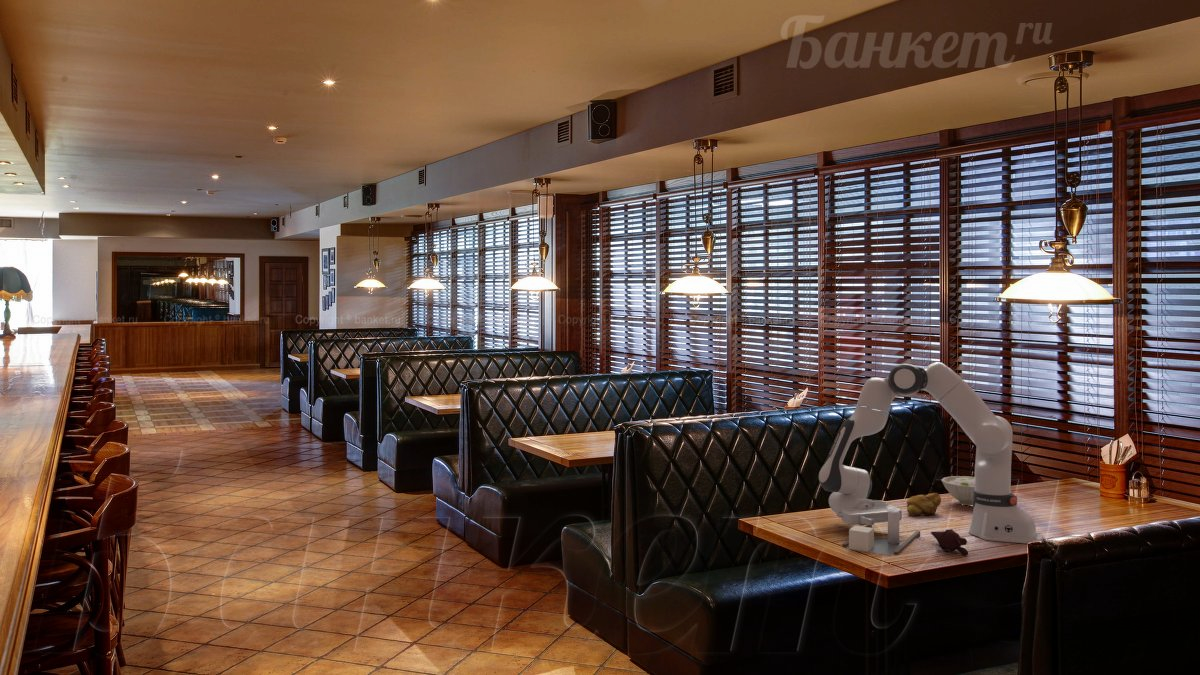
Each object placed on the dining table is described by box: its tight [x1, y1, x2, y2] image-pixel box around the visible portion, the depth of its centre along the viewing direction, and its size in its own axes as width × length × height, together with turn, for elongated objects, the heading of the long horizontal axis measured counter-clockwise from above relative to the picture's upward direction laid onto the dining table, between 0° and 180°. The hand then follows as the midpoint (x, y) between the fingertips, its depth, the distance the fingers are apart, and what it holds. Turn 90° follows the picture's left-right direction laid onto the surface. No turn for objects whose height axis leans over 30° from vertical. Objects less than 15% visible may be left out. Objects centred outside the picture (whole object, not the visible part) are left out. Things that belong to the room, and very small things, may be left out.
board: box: [845, 510, 905, 557], centre depth 285 cm, size 14×18×11 cm
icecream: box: [930, 529, 969, 557], centre depth 283 cm, size 7×7×15 cm
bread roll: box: [906, 492, 942, 517], centre depth 330 cm, size 13×10×8 cm
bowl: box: [941, 475, 975, 505], centre depth 343 cm, size 19×19×10 cm
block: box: [848, 525, 875, 553], centre depth 283 cm, size 6×6×6 cm
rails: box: [841, 524, 921, 556], centre depth 292 cm, size 17×28×2 cm, turn 147°
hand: (884, 521), depth 293 cm, fingers open, 8 cm apart
